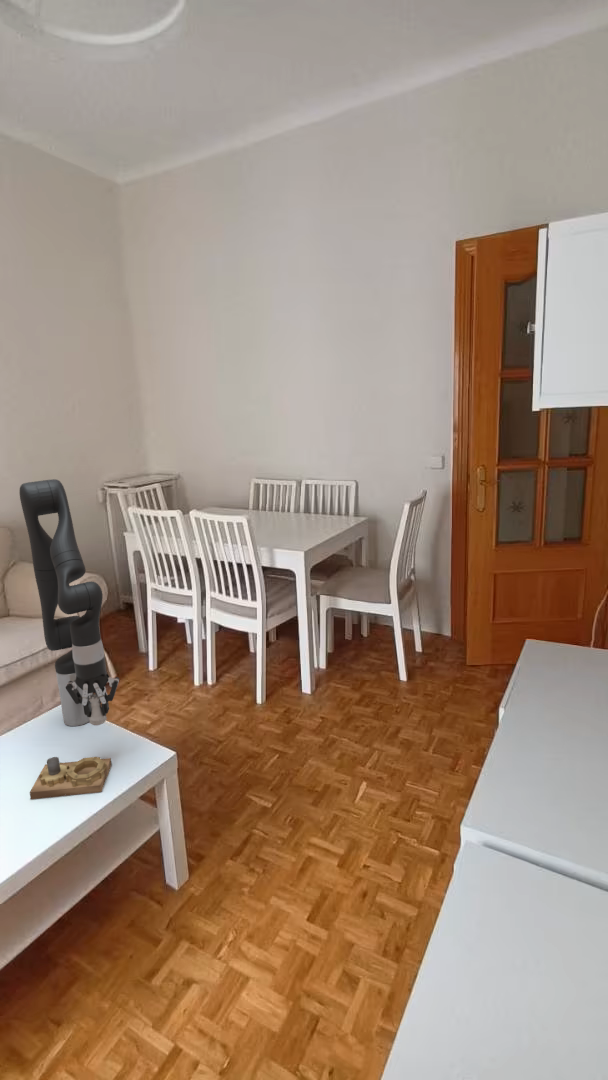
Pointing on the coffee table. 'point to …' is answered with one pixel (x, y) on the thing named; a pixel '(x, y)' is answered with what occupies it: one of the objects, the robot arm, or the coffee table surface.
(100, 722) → the rook chess piece
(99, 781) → the gear board
